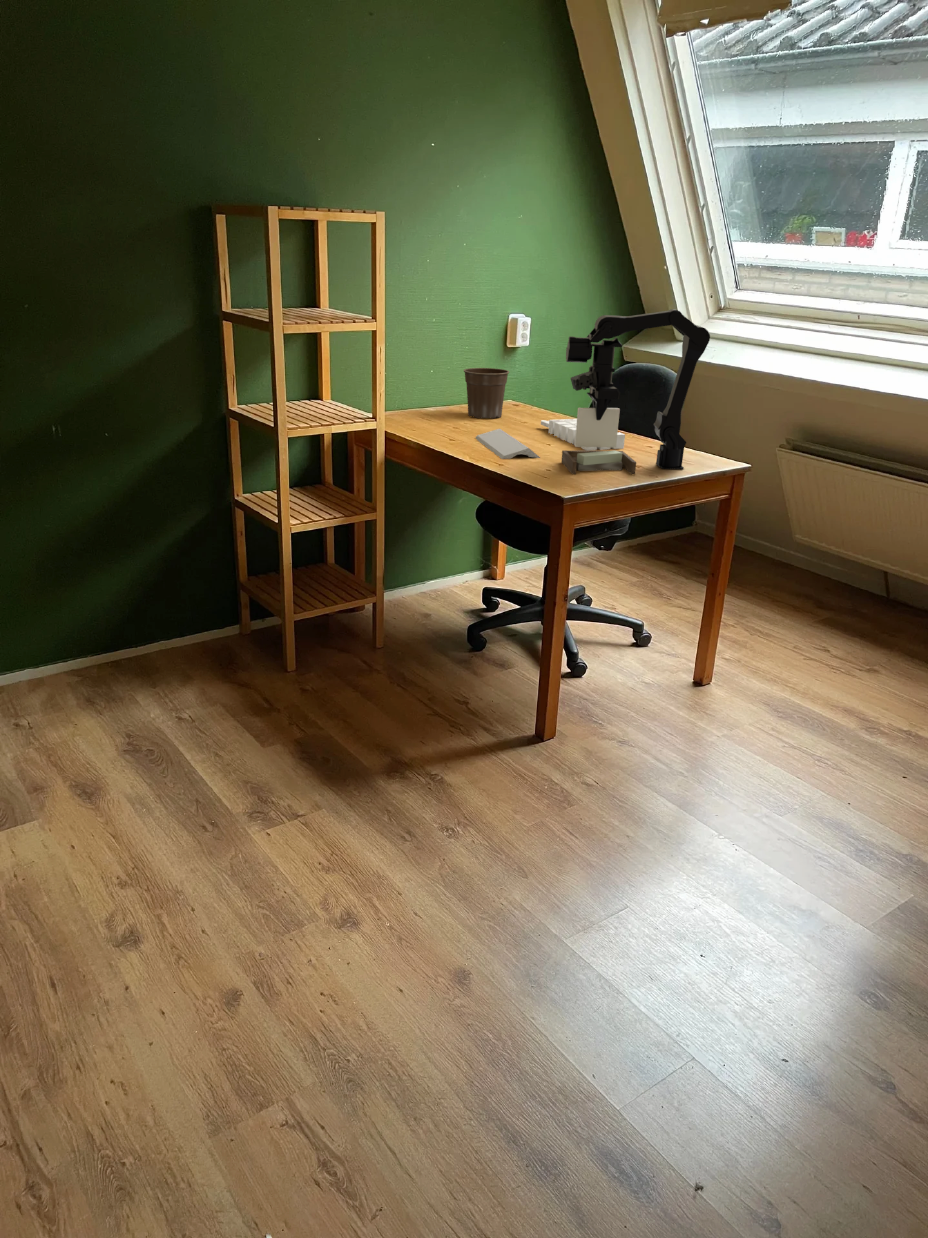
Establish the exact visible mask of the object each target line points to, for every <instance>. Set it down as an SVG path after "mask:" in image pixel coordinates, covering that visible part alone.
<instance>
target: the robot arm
mask: <svg viewBox="0 0 928 1238" xmlns="http://www.w3.org/2000/svg"><path fill="white" fill-rule="evenodd" d="M668 326H672V327H673V328H674V330H676V331H677V332H678V333H679V334H681V335H682V336H683V338H682V342H681V343H682V345H681V359H680V362H679V363H680V364H679V366H678V369H677V373H676V376H675V379H674V383H673V386H672V388H671V392H670V394H669V397H668V401H667V405H666V407H665V408H664V409H663V411H662V412H661V411H657V412H656V413H657V414H656V419H655V422H654V423H653V424H652V425H653V426H654V433H655V434H656V436H658V437H659V439H660V442H661V444H659V449H658V450H657V454H656V462H655V465H656V466H657V467H659V468H660V469H662V470H684V469H685V468H684V466H683V460H684V451H685V446H686V445H687V441H686V440H685V438H683V436H681V435H680V433H681V432H680V431H681V426H682V409H683V407H684V404H685V401H686V397H687V396H688V392H689V388H690V385H691V382H692V378H693V375H694V372H695V369H696V366H697V363H698V361H699V360H700V359H701V357H702V355H703V354H704V353H705V351H706V349H707V346H708V345H709V342H710V340H711V335H710V332H709V330H708V329H706V328H705V327H703V326H700V325H697V324H695V323H694V322H692V320H690V319H689V318H687V317H686V316H685V315H684V314H683V313H682V312H681V311H680V310H678V309H675V308H672V309H669V310H664V311H656V312H651V313H650V312H649V313H643V314H636V315H629V316H625V315H623V316H622V315H611V314H610V315H609V314H603V315H601V316H598V318H597V319H596V321H595V322H594V327H593V329H592V330H590V332H589V334H588V335H587V336H586V337H581V336H580V337H577V336H568V341H567V346H566V349H565V350H566V351H565V361H566V363H581V364H582V363H583V364H584V363H585V364H586V363H588V361H589V360H591V359H592V365H590V366H589V368H588V371H586V372H582V373H579V374H577V375H573V376H572V377H570V382H571V385H572V386H571V387H572V389H573V390H575V392H576V391H582V390H583V391H585V390H586V391H587V389H589V392H586V394H587V395H588V397H589V398H590V399H591V401H592V406H593V407H592V408H596V420H601V418H602V416H603V414H604V413H605V411H606V409H607V408H609V406H610V404H611V402H612V400H620V398H621V397H620V396H621V391H620V390H619V389H618V388H617V387H615V386H614V383H613V373H615V372H616V368H615V367H614V359H615V352H616V351H615V350H616V349H615V348H622V347H623V344H622V343H621V342H620V340H619V339H618V338H617V337H619V336H622V335H624V334H626V333H629V332H632V331H638V330H640V331H641V330H646V329H653V328H661V327H668Z"/></svg>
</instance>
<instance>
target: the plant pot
mask: <svg viewBox="0 0 928 1238" xmlns="http://www.w3.org/2000/svg"><path fill="white" fill-rule="evenodd" d="M463 372H464V380H465V383H466V400H467V415H468V416H469V417H470V416H472V417H471V418H476V419H482V418H492V419H496V418H498V419H499V418H501V417H502V416H503V405H504V399H505V398H504V397H505V392H506V384H507V382H508V377H509V376H508V375H509V373H510V371H509V370H507V369H503V368H494V367H493V368H492V367H491V368H490V367H474V368H473V367H471V368H465V369H463ZM473 416H474V417H473Z"/></svg>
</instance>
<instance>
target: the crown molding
mask: <svg viewBox="0 0 928 1238" xmlns="http://www.w3.org/2000/svg"><path fill="white" fill-rule="evenodd" d="M475 438H476V439H477V440H476V439H475ZM474 439H475V440H476V441H478V442H479V443H480V444H482V445H483V446H484V445H485V446H484V447H486V448H487V449H488V450H489V449H490V450H489V451H491V452H492V453H493V452H494V453H493V454H494V455H496V456H497V457H498V456H499V458H500V459H501V460H508V459H509V460H510V459H512V458H514V457H516V456H518V455H524V456H527V457H529V458H535V459H541V456H539V455H538V454H537V453H535V452H534V451H533V450H532V449H531V448H529V447H528V446H527V445H525V444H523V443H522V442H520V441H519V440H518V439H516V438H515V437H513V436H512V435H510V434H508V433H507V432H506V431H504V430H503V429H501V428H496V429H494V430H490V431H487V432H484V433H480V434H477V435H476V436H475V437H474Z"/></svg>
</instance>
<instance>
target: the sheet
mask: <svg viewBox="0 0 928 1238" xmlns="http://www.w3.org/2000/svg"><path fill="white" fill-rule="evenodd" d="M620 411H621V409H620V408H618V407H607V409H606V411H605V413H604V414H603V416H602V418H601V420H596V408H594V407H577V414H576V415H577V416H576V419H577V426H576V438H575V445H574V447H575V448H582V447H616V443H617V433H618V431H619V424H620V423H619V422H620V421H619V419H620Z"/></svg>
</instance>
